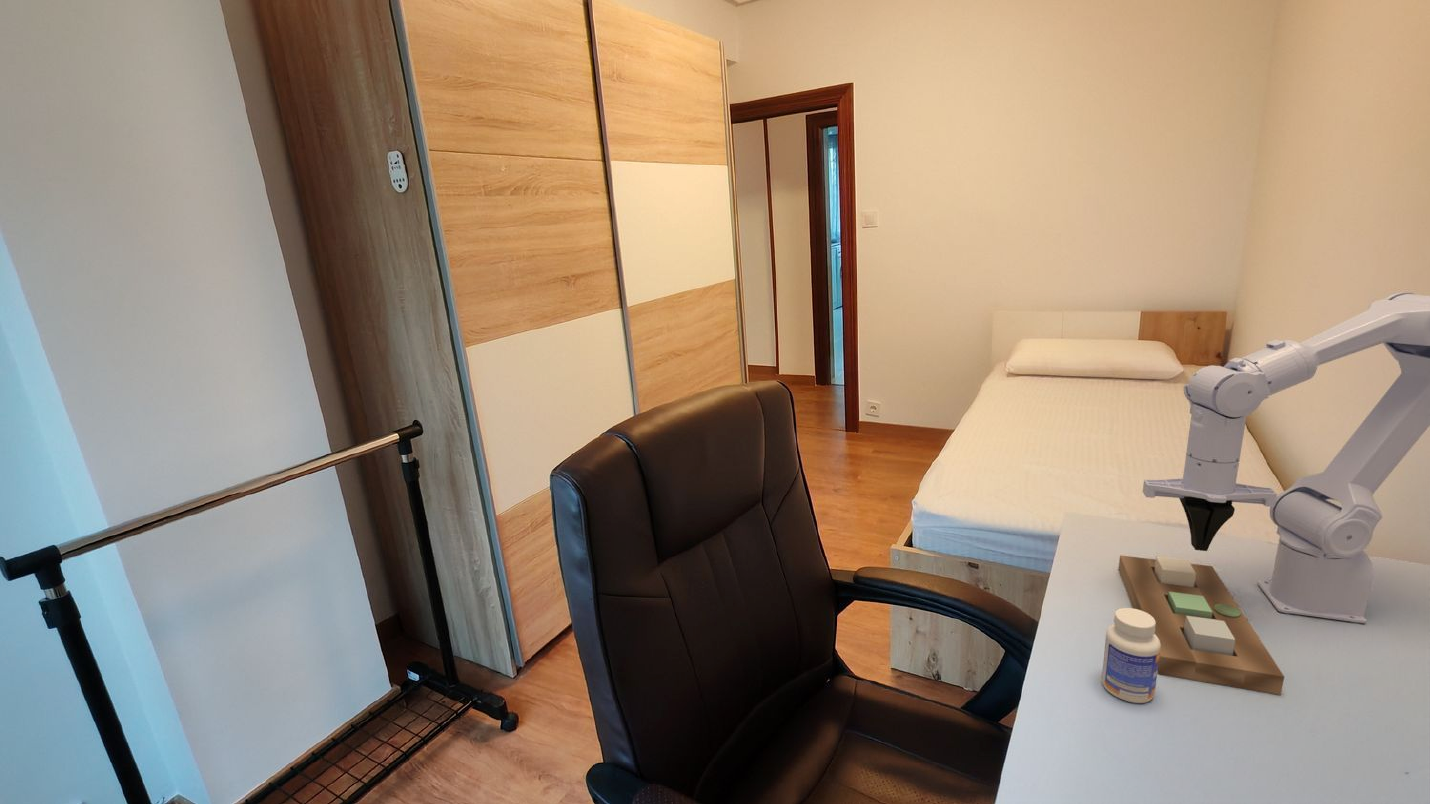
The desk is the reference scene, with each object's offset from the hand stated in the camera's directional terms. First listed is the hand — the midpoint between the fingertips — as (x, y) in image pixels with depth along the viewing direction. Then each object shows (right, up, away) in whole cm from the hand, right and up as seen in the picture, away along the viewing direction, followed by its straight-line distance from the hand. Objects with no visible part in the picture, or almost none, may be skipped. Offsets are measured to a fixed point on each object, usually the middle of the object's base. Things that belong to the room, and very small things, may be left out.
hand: (1199, 547), depth 90 cm
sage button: (-3, -10, -2) cm, 10 cm away
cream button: (0, -6, +5) cm, 8 cm away
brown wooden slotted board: (-3, -10, -2) cm, 10 cm away
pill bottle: (-18, -14, -13) cm, 27 cm away
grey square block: (-6, -11, -9) cm, 15 cm away
